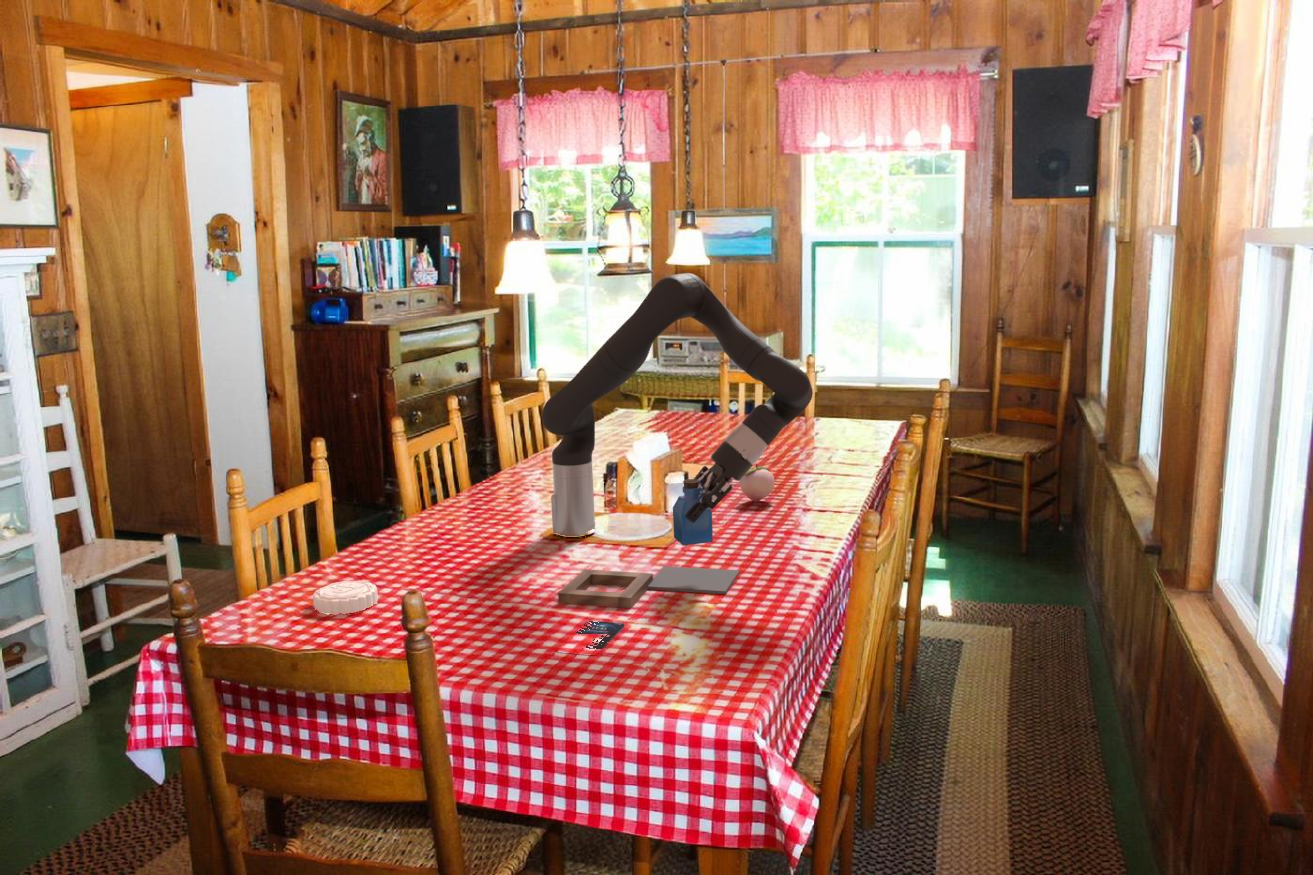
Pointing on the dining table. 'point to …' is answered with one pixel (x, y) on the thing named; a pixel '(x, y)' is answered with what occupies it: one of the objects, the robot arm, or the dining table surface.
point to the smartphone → (602, 632)
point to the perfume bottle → (685, 528)
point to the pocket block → (579, 594)
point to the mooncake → (345, 597)
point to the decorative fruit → (757, 483)
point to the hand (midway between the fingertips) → (684, 515)
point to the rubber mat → (694, 580)
